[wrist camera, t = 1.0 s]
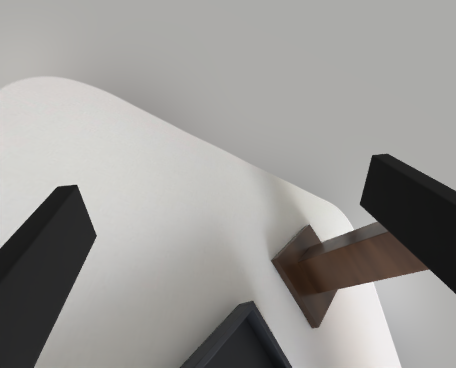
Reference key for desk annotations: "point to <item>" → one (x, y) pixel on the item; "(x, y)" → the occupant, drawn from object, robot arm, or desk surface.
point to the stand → (340, 265)
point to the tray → (240, 343)
